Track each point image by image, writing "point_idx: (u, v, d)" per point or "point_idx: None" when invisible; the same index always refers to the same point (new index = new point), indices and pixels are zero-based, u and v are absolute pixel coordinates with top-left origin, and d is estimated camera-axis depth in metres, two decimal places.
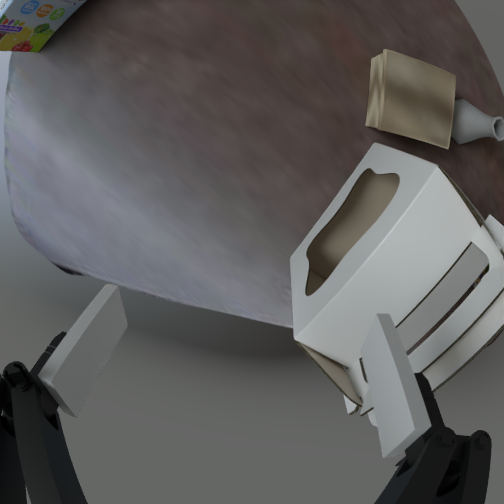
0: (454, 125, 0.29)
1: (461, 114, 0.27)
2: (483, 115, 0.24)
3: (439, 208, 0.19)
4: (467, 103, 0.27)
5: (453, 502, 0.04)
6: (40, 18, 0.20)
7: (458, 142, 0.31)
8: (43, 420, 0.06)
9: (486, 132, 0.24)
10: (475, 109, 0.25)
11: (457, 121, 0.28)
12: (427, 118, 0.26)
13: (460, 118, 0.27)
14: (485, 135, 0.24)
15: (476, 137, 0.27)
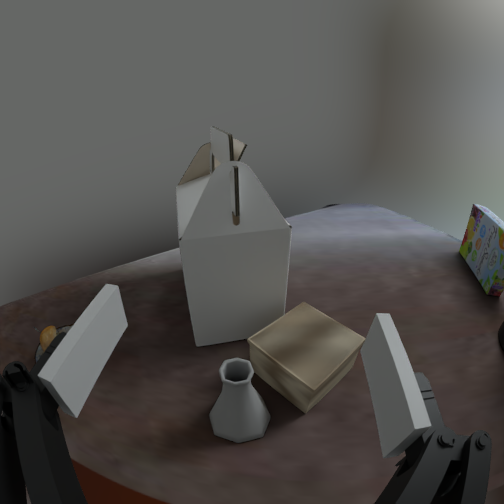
0: None
1: (257, 396, 0.28)
2: (250, 394, 0.25)
3: None
4: (260, 423, 0.26)
5: (453, 502, 0.04)
6: (475, 243, 0.54)
7: None
8: (43, 420, 0.06)
9: (235, 372, 0.26)
10: (255, 409, 0.26)
11: None
12: (288, 335, 0.33)
13: (256, 392, 0.29)
14: (230, 377, 0.27)
15: None
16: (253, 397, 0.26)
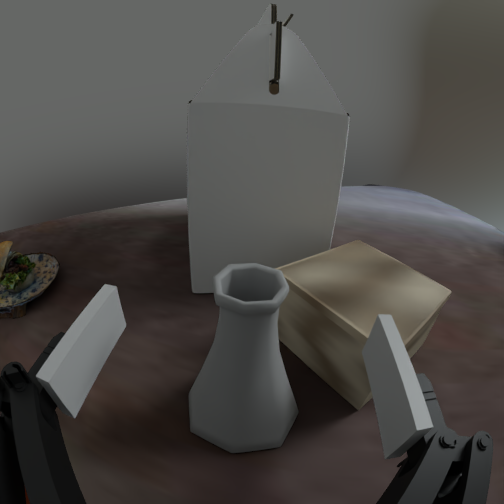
0: None
1: None
2: (273, 350, 0.13)
3: None
4: (280, 419, 0.13)
5: (454, 502, 0.04)
6: None
7: None
8: (41, 420, 0.06)
9: None
10: (276, 388, 0.13)
11: None
12: (341, 273, 0.20)
13: None
14: None
15: None
16: (277, 360, 0.13)
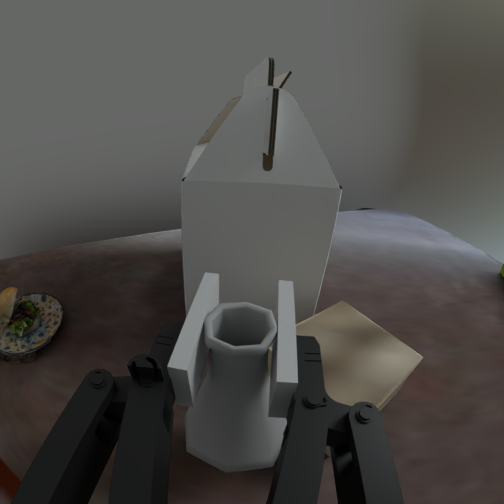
0: None
1: None
2: (263, 383, 0.13)
3: None
4: (272, 443, 0.13)
5: (356, 486, 0.06)
6: None
7: None
8: (161, 423, 0.08)
9: (240, 337, 0.14)
10: (267, 416, 0.13)
11: None
12: (321, 343, 0.22)
13: None
14: None
15: None
16: (267, 392, 0.13)
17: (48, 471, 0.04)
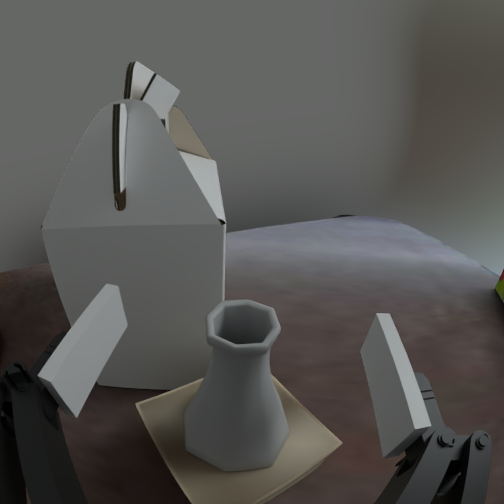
0: None
1: (274, 392, 0.15)
2: (264, 382, 0.13)
3: None
4: (271, 442, 0.13)
5: (453, 502, 0.04)
6: None
7: None
8: (43, 420, 0.06)
9: (241, 335, 0.14)
10: (267, 415, 0.13)
11: None
12: None
13: (272, 384, 0.16)
14: None
15: None
16: (268, 391, 0.13)
17: None
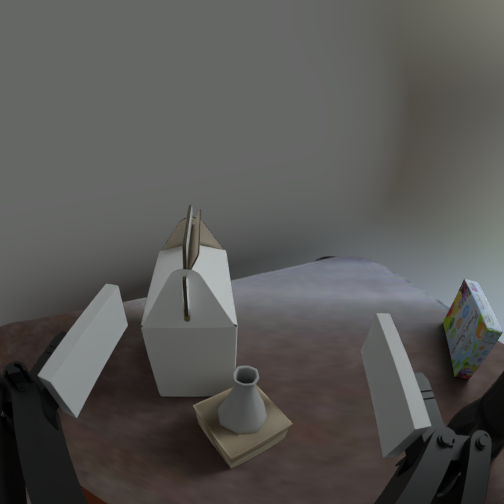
0: None
1: (259, 398, 0.35)
2: (254, 395, 0.32)
3: None
4: (258, 419, 0.33)
5: (453, 502, 0.04)
6: (457, 320, 0.54)
7: None
8: (43, 420, 0.06)
9: (245, 377, 0.33)
10: (255, 407, 0.33)
11: None
12: None
13: (258, 394, 0.36)
14: (240, 379, 0.34)
15: None
16: (255, 398, 0.33)
17: None
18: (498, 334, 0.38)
